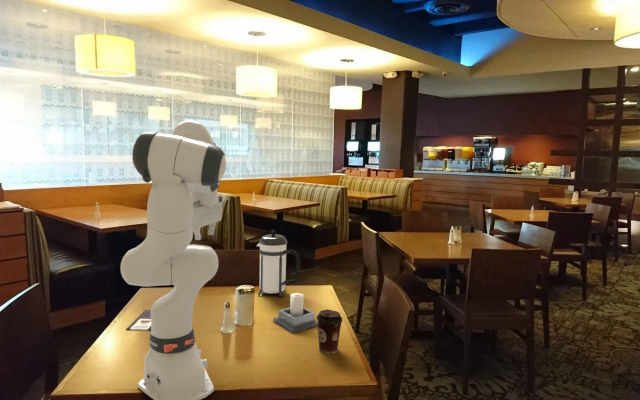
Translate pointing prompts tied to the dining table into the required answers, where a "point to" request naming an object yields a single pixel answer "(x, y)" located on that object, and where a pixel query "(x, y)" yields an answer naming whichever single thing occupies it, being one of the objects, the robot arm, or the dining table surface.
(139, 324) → the chocolate bar
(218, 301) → the dining table surface
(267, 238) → the coffee press
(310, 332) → the dining table surface
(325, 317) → the coffee cup
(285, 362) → the dining table surface
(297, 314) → the paper roll
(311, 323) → the roll stand
